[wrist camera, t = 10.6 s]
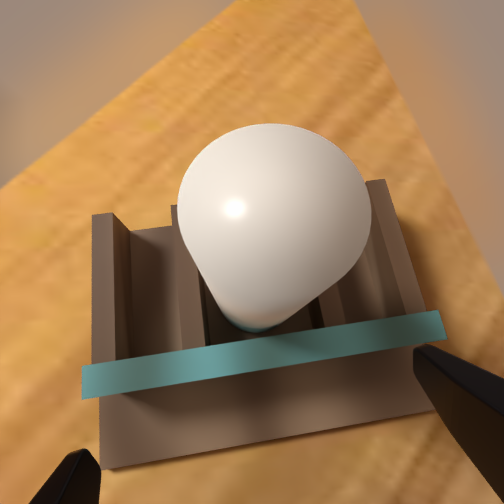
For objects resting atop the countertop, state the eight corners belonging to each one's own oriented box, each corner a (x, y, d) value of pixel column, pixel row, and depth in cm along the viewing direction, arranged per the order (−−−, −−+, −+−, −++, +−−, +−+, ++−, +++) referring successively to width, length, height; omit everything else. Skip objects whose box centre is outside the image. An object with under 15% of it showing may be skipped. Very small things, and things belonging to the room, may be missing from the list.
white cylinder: (309, 296, 20) (411, 212, 8) (252, 350, 19) (269, 346, 7) (258, 242, 22) (279, 94, 9) (201, 290, 20) (137, 194, 8)
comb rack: (375, 202, 23) (406, 168, 19) (436, 406, 19) (494, 422, 15) (102, 238, 22) (67, 209, 18) (104, 467, 18) (59, 504, 13)
